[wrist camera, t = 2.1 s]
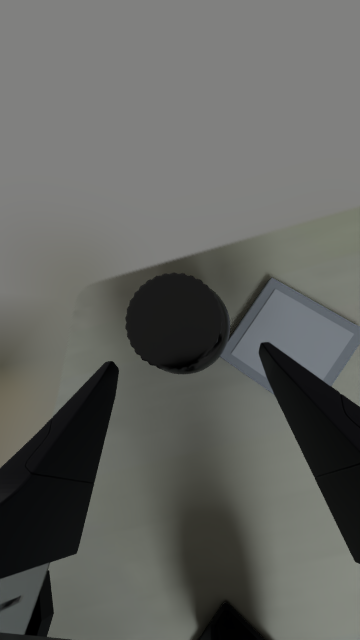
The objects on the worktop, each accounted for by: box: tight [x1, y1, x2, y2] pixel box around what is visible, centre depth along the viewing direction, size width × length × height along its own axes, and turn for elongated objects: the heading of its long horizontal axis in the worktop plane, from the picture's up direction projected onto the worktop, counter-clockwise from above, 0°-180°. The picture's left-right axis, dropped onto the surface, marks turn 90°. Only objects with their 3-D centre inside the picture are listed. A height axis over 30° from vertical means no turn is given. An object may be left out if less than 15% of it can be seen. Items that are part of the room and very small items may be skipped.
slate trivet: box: [220, 278, 360, 395], centre depth 17 cm, size 11×11×1 cm
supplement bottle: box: [125, 273, 230, 374], centre depth 13 cm, size 7×7×12 cm
